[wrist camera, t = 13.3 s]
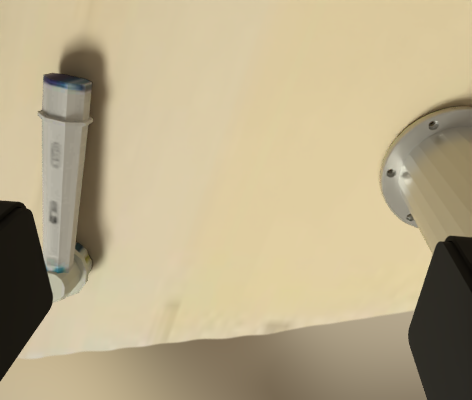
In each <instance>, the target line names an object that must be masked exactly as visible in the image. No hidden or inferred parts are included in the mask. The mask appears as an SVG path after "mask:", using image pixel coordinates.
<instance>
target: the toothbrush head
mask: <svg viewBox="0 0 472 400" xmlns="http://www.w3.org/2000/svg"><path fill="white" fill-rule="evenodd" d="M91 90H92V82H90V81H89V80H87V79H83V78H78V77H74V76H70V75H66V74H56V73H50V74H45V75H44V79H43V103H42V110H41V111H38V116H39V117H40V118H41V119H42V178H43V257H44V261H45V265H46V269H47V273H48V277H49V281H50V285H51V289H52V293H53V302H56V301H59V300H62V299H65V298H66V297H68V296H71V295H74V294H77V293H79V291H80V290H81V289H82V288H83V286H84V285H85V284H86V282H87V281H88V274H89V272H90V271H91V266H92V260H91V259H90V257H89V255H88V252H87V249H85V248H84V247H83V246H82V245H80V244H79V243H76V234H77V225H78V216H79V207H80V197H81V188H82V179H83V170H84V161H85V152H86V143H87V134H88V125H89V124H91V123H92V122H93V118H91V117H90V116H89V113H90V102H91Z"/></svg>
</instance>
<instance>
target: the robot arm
mask: <svg viewBox="0 0 472 400" xmlns="http://www.w3.org/2000/svg"><path fill="white" fill-rule="evenodd" d="M432 121H433V123H432V124H430V125H429V123H430V122H432ZM390 169H391V171H388V170H390ZM380 186H381V191H382V194H383V197H384V199H385V202H386V203H387V205H388V207H389V208H390V210H391V211H392V212H393V213H394V214H395V215H396V216H397V217H398V218H399V219H400V220H402V221H403V222H405V223H407V224H409V225H411V226H414V227H416V228H419V230H420V232H421V233H422V235H423V237H424V239H425V241H426V243H427V245H428V247H429V249H430V251H431V252H432V254H433V256H432V259H431V262H430V265H429V268H428V271H427V274H426V278H425V281H424V284H423V287H422V290H421V293H420V296H419V299H418V302H417V306H416V309H415V312H414V315H413V318H412V321H411V324H410V327H409V333H408V339H409V345H410V348H411V351H412V354H413V357H414V360H415V363H416V366H417V369H418V372H419V376H420V379H421V382H422V385H423V388H424V391H425V394H426V397H427V400H472V107H470V106H458V107H451V108H445V109H442V110H439V111H436V112H433V113H430V114H428V115H426V116H424V117H422V118H420V119H418V120H417V121H415V122H414V123H412V124H411V125H410V126H408V127H407V128H406V129H405V130H404V131H403V132H402V133H401V134H400V135H399V136H398V137H397V138H396V139H395V140H394V142H393V143H392V144H391V146H390V147H389V149H388V151H387V153H386V155H385V157H384V159H383V162H382V166H381V170H380ZM52 302H53V293H52V289H51V285H50V281H49V277H48V273H47V269H46V265H45V261H44V257H43V253H42V249H41V245H40V241H39V237H38V233H37V229H36V225H35V222H34V218H33V214H32V212H31V211H30V210H29V209H26V206H25V205H24V204H23V203H21V202H12V201H0V381H1V380H2V378H3V377H4V375H5V374H6V372H7V371H8V369H9V368H10V367H11V365H12V364H13V362H14V361H15V359H16V358H17V356H18V355H19V354H20V352H21V351H22V349H23V348H24V346H25V345H26V343H27V342H28V340H29V339H30V338H31V336H32V335H33V333H34V332H35V330H36V329H37V327H38V326H39V325H40V323H41V322H42V320H43V319H44V317H45V316H46V314H47V313H48V311H49V310H50V308H51V306H52Z"/></svg>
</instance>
